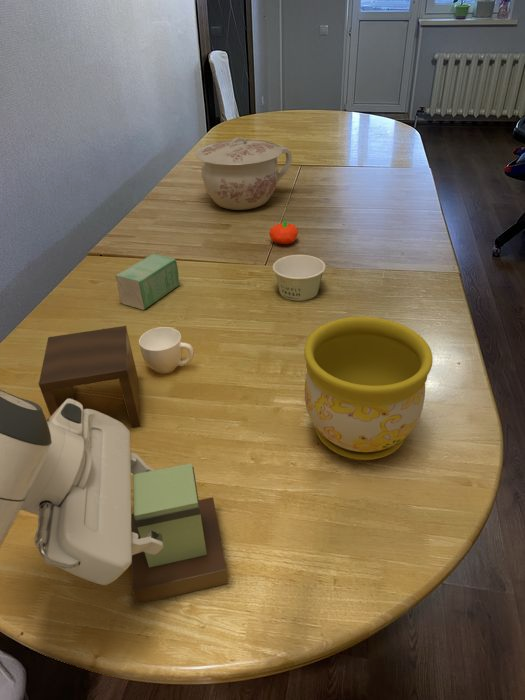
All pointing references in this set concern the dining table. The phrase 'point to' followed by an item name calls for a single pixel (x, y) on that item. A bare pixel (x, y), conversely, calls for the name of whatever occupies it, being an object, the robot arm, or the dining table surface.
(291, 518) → the dining table surface
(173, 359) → the cup
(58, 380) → the wooden stool
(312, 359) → the flowerpot
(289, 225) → the pumpkin
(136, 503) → the block
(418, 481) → the dining table surface
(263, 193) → the chamber pot
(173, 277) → the box
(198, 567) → the brown square tile
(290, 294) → the food container
